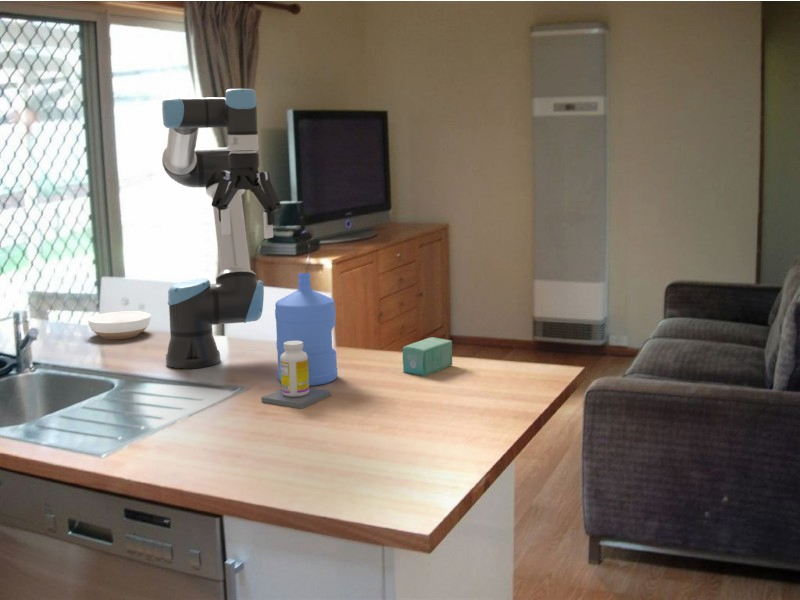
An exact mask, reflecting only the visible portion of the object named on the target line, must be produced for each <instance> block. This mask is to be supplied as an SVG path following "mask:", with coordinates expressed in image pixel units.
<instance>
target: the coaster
mask: <svg viewBox="0 0 800 600" xmlns="http://www.w3.org/2000/svg"><path fill="white" fill-rule="evenodd" d="M331 393H332V392H331V390H328V389H323V388H322V389H321V388H314V387H309V393H308V394H306V395H304V396H300V397H288V396H285V395H283V393H282V388H280V389H278V390H276V391H273V392H270V393H268V394H266V395H263V396H261V403H266V404H273V405H278V406H284V407H291V408H296V409H304V408H306V407H309V406H311V405H313V404H316V403H318V402H319V401H322V400H325V399H327V398H328V397H331Z"/></svg>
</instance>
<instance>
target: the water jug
mask: <svg viewBox="0 0 800 600" xmlns="http://www.w3.org/2000/svg"><path fill="white" fill-rule="evenodd" d="M297 277H298V280H297V283H298V289H296V290H295V291H293V292H292V293H290V294H288V295H286V296H284V297H282V298H280V299H279V300H277V301H276V302H275V305H274V306H275V309H274V317H275V324H276V326H275V329H276V343H275V344H276V350H277V379H278V380H279V382H281V363H280V356H281V355H282V353H284V352H285V349H284V342H287V341H302V342H303V349H302V350H303V351H304V352H305V353H306V354H307V356H308V373H309V387H315V386H321V385H326V384H329V383H332V382H333V381H335V380H336V379H337V377H338V367H337V366H338V365H337V364H338V363H337V360H338V359H337V351H336V350H335V349H334V348H333V334H332V332H333V329H334V327H336V306H335V305H336V304H335V300H334V299H333V298H331V297H329V296H327V295H324V294H322V293H320V292H318V291H315V290H314V289H312V288H311V278H310V277H311V273H306V272H304V273H302V272H301V273H298V274H297Z"/></svg>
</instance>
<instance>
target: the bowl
mask: <svg viewBox="0 0 800 600" xmlns="http://www.w3.org/2000/svg"><path fill="white" fill-rule="evenodd" d="M150 322H151V313H148V312H145V311H138V310H137V311H136V310H133V311H132V310H131V311H130V310H129V311H128V310H127V311H125V310H124V311H114V312H112V311H111V312H105V313H100V314H95V315H93V316H90V317H88V326H89V328H90V330H91V332H94V333H95V334H96V335H98V336H100V337H102V338H103V339H107V340H124V339H129V338H133V337H137V336H138V335H140V334H141V333H142V332H144V331H145V330H146V329H147V328H148V327H149V326H150Z"/></svg>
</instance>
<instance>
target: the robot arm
mask: <svg viewBox="0 0 800 600" xmlns="http://www.w3.org/2000/svg"><path fill="white" fill-rule="evenodd" d="M161 103H162V105H161V107H162V108H161V111H162V121H163V122H162V123H163V126H164V127H165V128H167V129H168V134H167V146H166V148H165V149H164V150H163V152H162V161H161V162H162V166H163V170H164V172H165V173H166V174H167V175H168V176H169V178H171V179H172V180H173V181H175V182H176V183H178V184H179V185H182V186H185V187H187V188H205V193H206V194H207V196H208V197H210V198H211V200H212V201H211V206H212V208H213V216H214V226H215V236H216V242H217V252H218V261H219V274H218V275H217V276H216V277H215V282H216V283H211V281H210V280H209V279H208V278H199V279H198V278H197V279H190V280H185V281H181V282H177V283H175V284H173V285H171V286H170V287H169V289H168V292H167V295H168V296H167V298H168V301H167V305H168V313H169V329H170V330H169V331H170V332H169V333H170V339H169V343H168V348H167V353H166V354H165V365H166V366H167V367H169V368H172V367H174V368H173V369H180V368H183V370H185V369H187V370H188V369H189V370H190V369H201V368H206V367H210V366H215V365H217V364H218V363H220V362H221V352H220V350H219V349H218V346H217V343H216V340H215V337H214V335H213V326H215V325H226V324H227V325H229V324H242V323H244V324H246V323H252V322H256V321H259V320H260V319H261V317H262V314H263V307H264V299H265V297H264V296H265V293H264V292H265V290H264V289H265V288H264V282H263V281H262V280H261V279H259V280H258V279H257V273H255V272H254V271H253V270H251V264H250V257H249V256H250V255H249V248H248V238H247V232H246V223H245V222H246V221H245V215H244V207H243V197H242V195H243V194H244V193H245V192H246V190H248V191H249V190H250V191H249V192H251V193H252V194H253V195H254V196H255V197H256V199H257V200H258V202H259V204H261V206H262V207H263V209H264V212H263V214H262V215H263V237H264V239H267V240H268V239H271V238H274V225H275V223H276V218H275V217H276V216H275V213H276V211H278V210H281V209H282V204H281V203H280V200H279V197H278V195H277V194H276V193H277V192H275V188H274V186H273V184H272V182H271V179H270V178H271V177H270V172H269V171H261V172H259V167H260V157H259V156H260V154H259V153H258V152H257V151H259V150H260V149H259V148H260V147H259V133H258V107H257V105H258V101H257V92H256V90H254V89H253V88H228V89H227V90H226V91H225V97H179V96H176V97H169V98H165V99H163V100H162V102H161ZM203 128H205V129H206V128H226V129H227V146H225V147H222V146H221V147H196V145H197V141H198V133H199V129H203Z"/></svg>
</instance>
